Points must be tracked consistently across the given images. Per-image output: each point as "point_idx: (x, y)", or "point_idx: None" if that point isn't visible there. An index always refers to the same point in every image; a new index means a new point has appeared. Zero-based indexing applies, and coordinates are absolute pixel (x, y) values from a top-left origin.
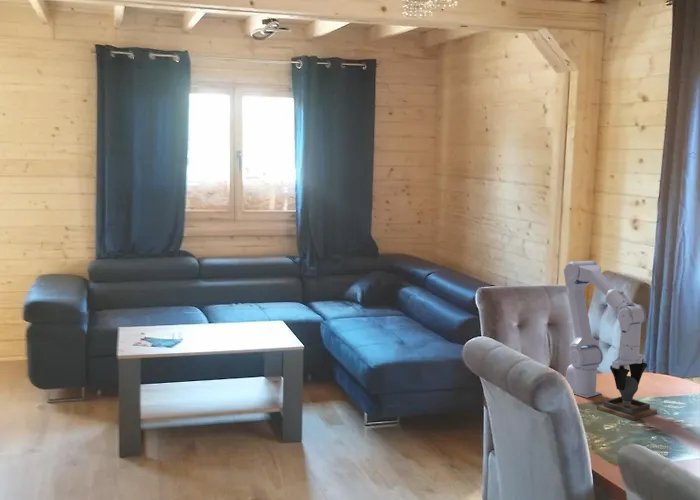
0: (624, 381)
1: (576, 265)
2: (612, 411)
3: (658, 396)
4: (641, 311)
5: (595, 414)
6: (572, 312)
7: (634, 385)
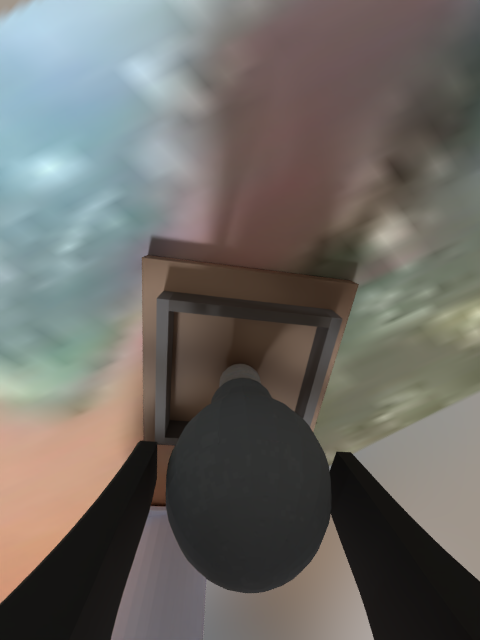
0: (406, 527)
1: None
2: (324, 388)
3: None
4: None
5: (370, 415)
6: None
7: (286, 443)
